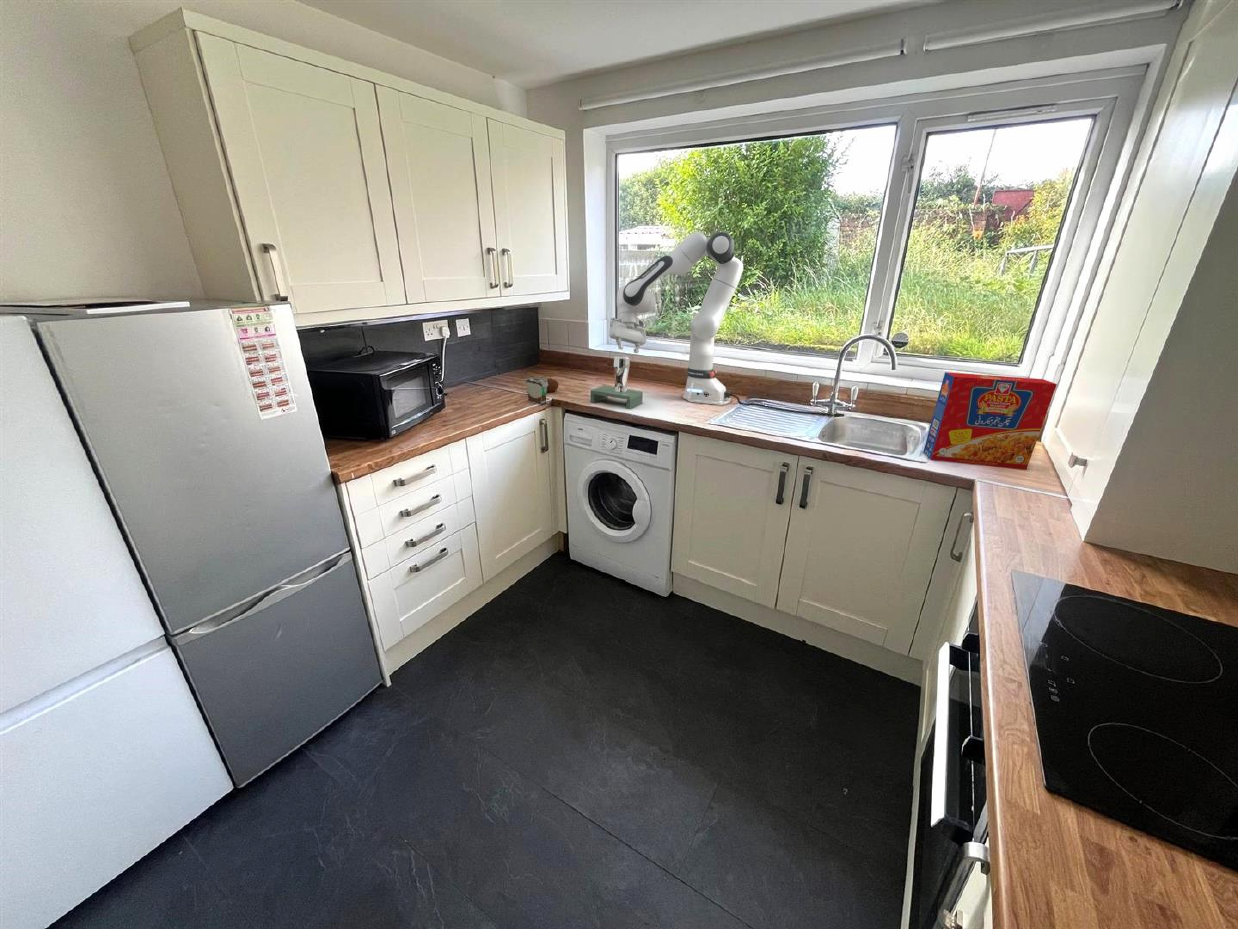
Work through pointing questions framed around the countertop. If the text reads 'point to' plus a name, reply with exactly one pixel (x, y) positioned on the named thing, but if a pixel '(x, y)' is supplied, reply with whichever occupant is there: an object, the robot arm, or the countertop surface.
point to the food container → (536, 390)
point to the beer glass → (621, 373)
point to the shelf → (617, 395)
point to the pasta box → (988, 419)
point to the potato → (552, 385)
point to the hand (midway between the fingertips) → (628, 350)
